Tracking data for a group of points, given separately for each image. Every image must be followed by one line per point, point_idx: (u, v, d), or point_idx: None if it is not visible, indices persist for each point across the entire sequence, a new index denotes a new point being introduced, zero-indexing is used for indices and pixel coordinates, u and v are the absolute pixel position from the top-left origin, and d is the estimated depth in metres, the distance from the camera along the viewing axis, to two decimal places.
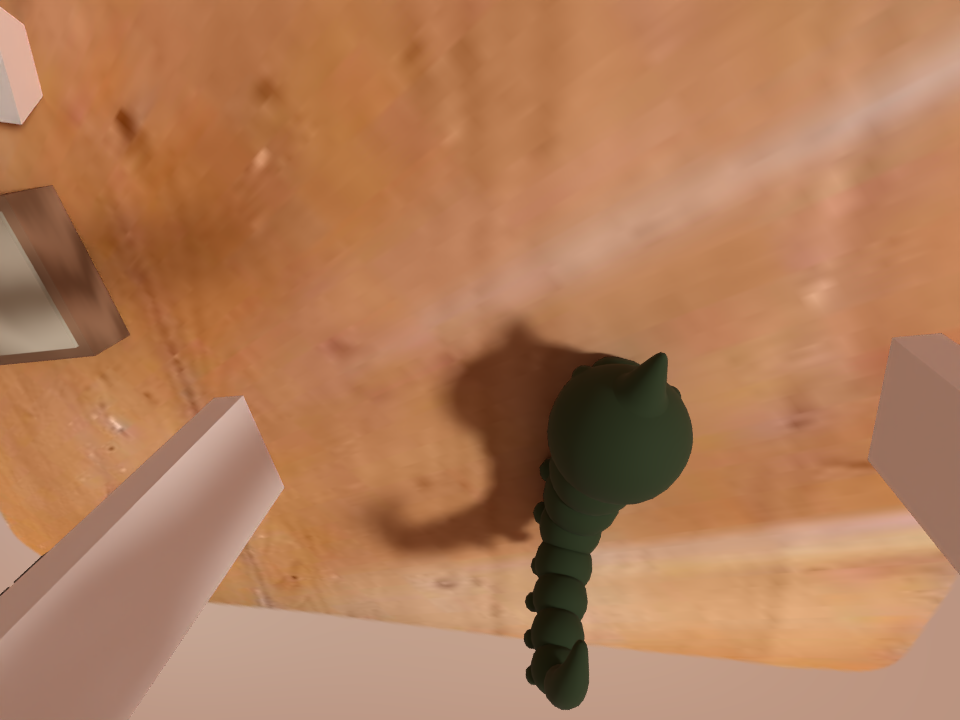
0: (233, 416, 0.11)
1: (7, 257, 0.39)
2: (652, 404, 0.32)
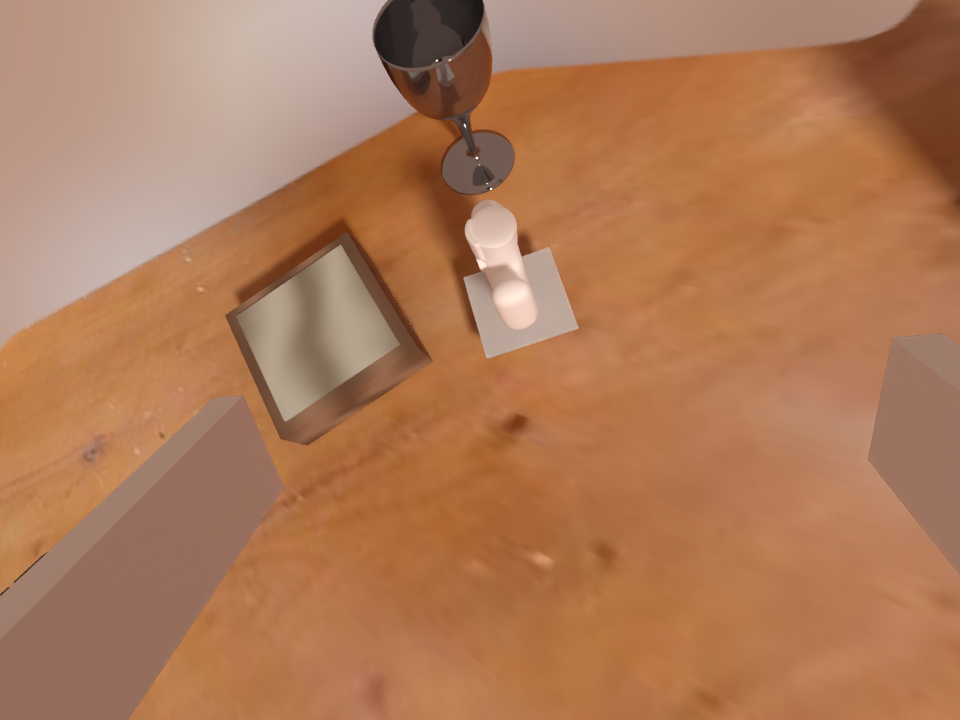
0: (233, 416, 0.11)
1: (357, 351, 0.41)
2: None
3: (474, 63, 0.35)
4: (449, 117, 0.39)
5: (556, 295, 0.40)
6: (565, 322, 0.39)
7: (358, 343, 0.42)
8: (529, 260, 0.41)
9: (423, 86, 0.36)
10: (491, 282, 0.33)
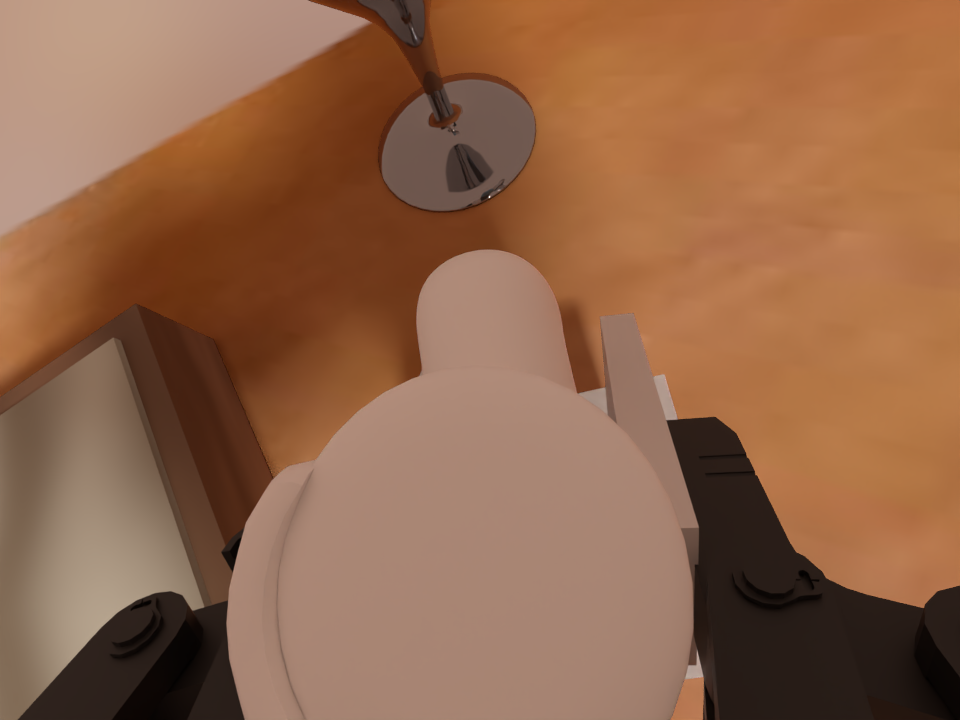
0: None
1: None
2: None
3: None
4: None
5: None
6: None
7: None
8: (603, 407, 0.14)
9: None
10: None
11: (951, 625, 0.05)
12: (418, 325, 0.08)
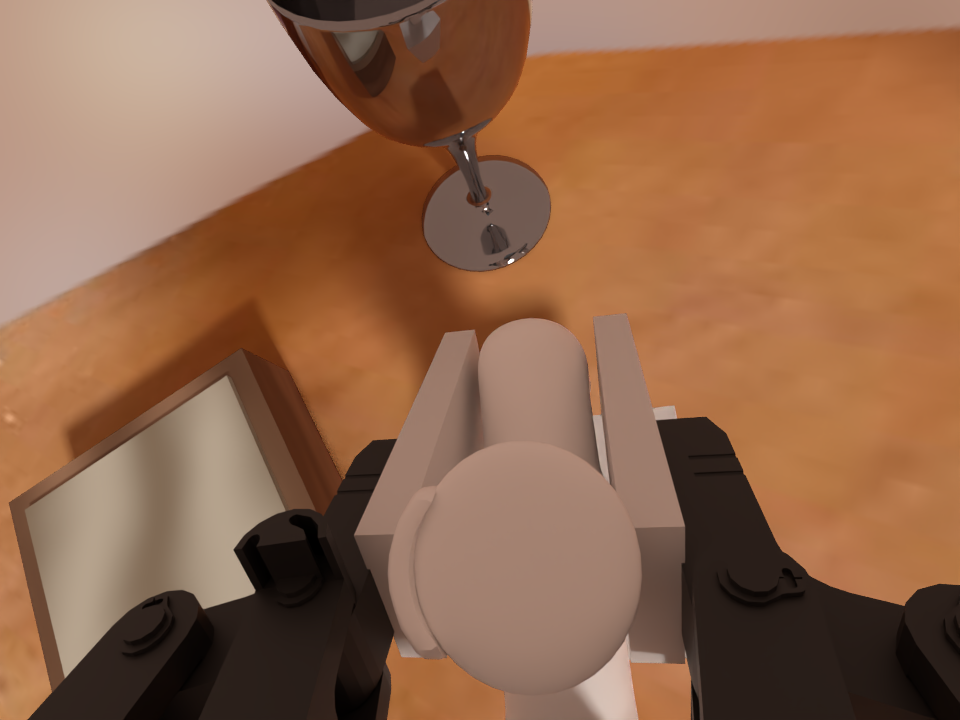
0: (472, 346, 0.12)
1: None
2: None
3: (497, 17, 0.14)
4: (435, 142, 0.18)
5: None
6: None
7: None
8: None
9: (373, 72, 0.15)
10: None
11: (931, 623, 0.05)
12: (480, 371, 0.11)
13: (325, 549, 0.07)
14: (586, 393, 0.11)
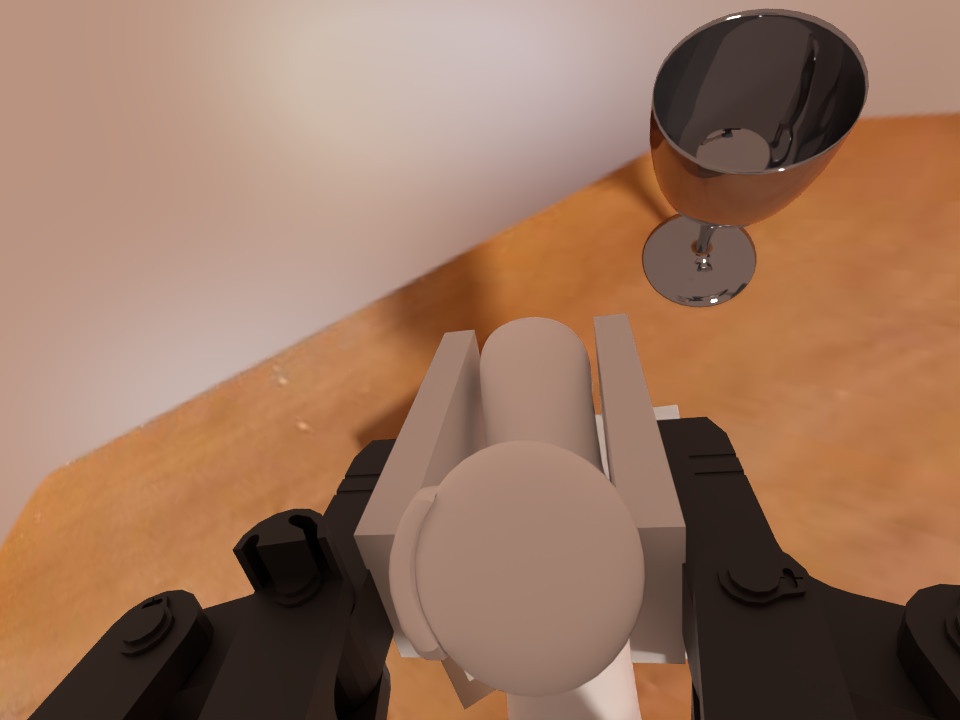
0: (472, 346, 0.12)
1: None
2: None
3: (833, 156, 0.21)
4: (738, 226, 0.25)
5: None
6: None
7: None
8: None
9: (743, 194, 0.22)
10: None
11: (932, 623, 0.05)
12: (482, 371, 0.11)
13: (324, 549, 0.07)
14: (588, 392, 0.11)
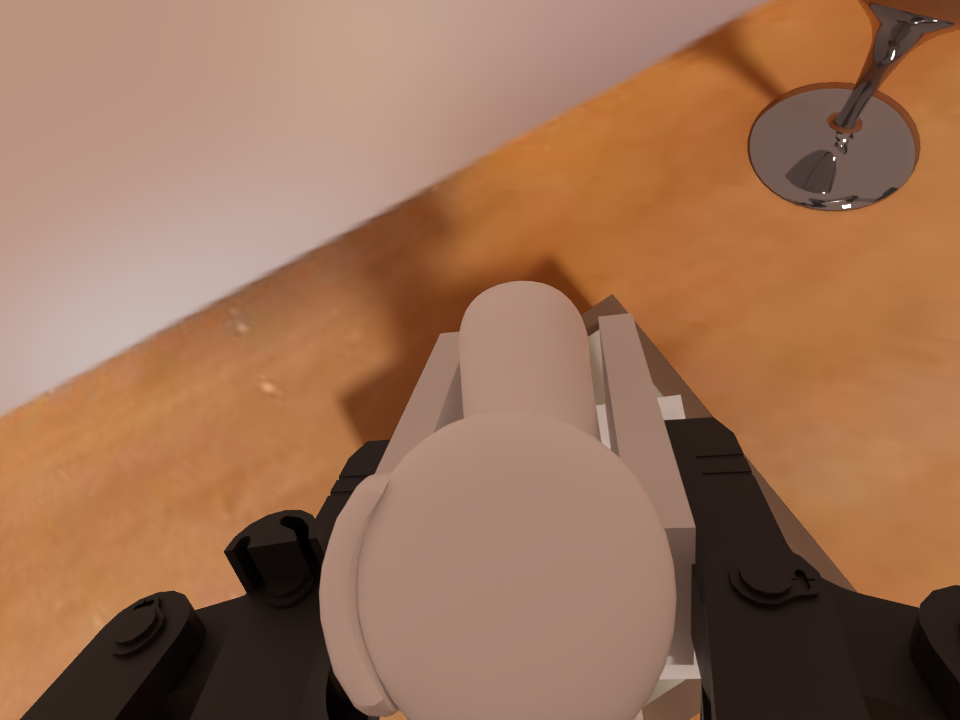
0: None
1: None
2: None
3: None
4: None
5: None
6: None
7: None
8: None
9: None
10: None
11: (946, 625, 0.05)
12: (461, 343, 0.09)
13: (316, 550, 0.07)
14: (587, 369, 0.09)
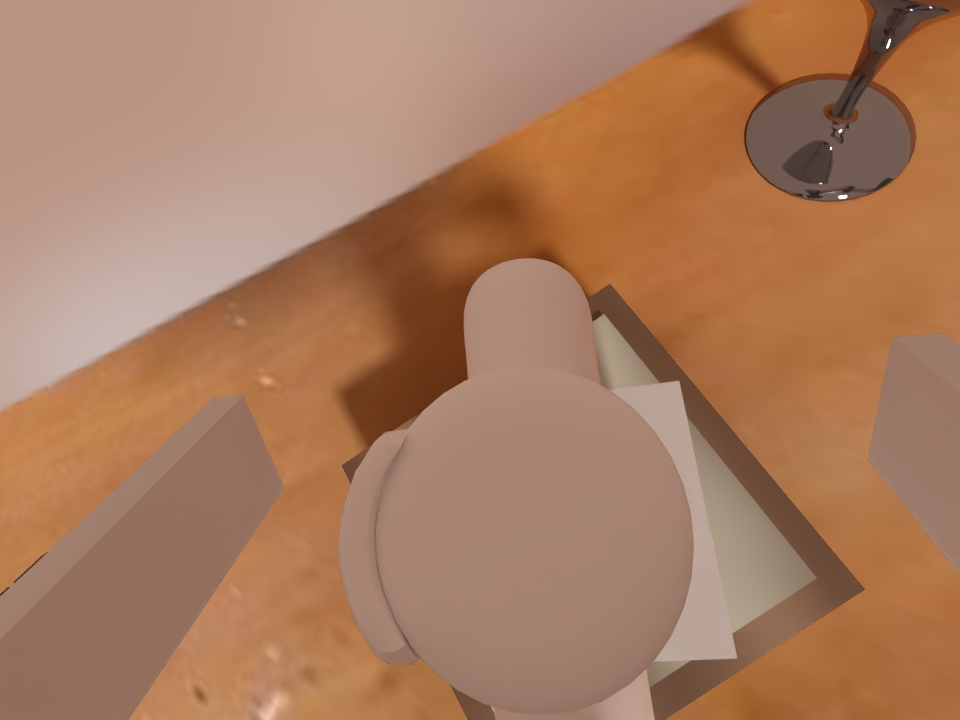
0: (233, 416, 0.11)
1: None
2: None
3: None
4: None
5: None
6: (698, 626, 0.13)
7: None
8: None
9: None
10: None
11: None
12: (466, 320, 0.09)
13: None
14: (592, 345, 0.09)
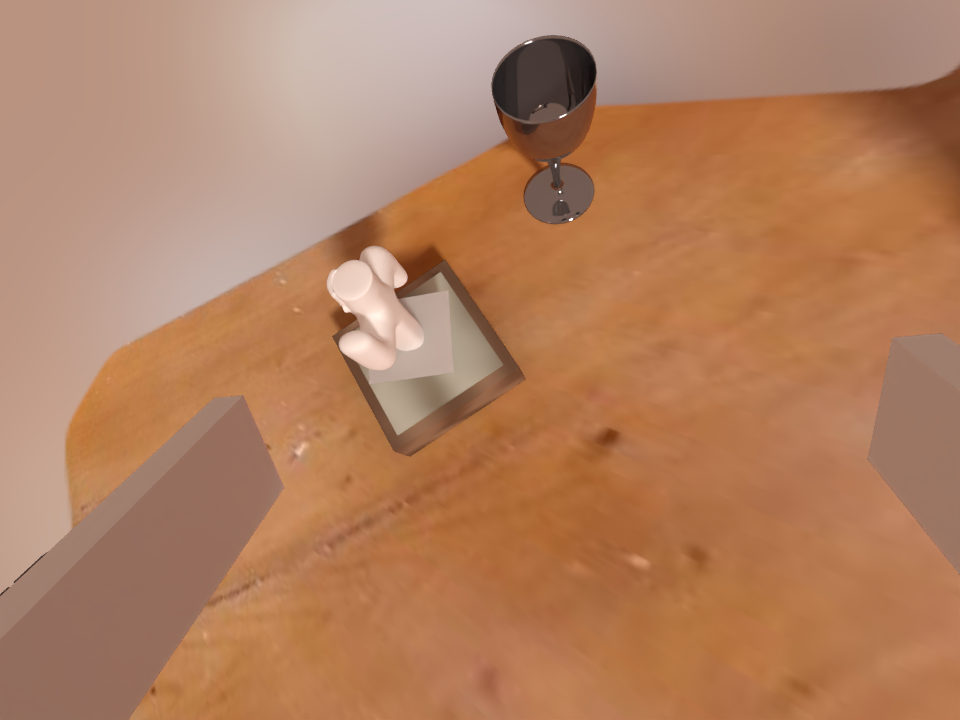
0: (233, 416, 0.11)
1: (463, 371, 0.45)
2: None
3: (585, 115, 0.39)
4: (552, 159, 0.43)
5: (443, 337, 0.43)
6: (444, 364, 0.42)
7: (463, 364, 0.46)
8: (428, 299, 0.44)
9: (538, 136, 0.40)
10: (359, 324, 0.36)
11: None
12: (359, 260, 0.38)
13: None
14: (388, 266, 0.38)
